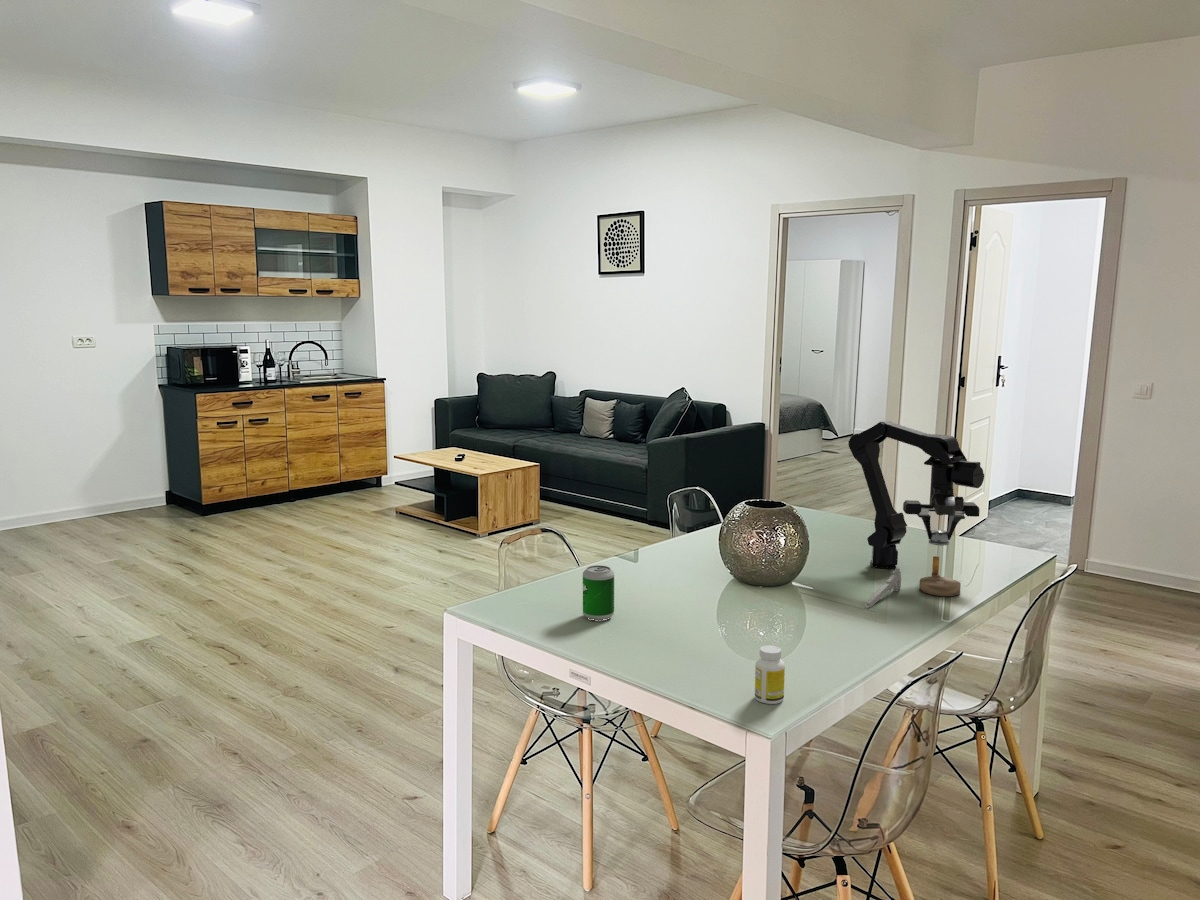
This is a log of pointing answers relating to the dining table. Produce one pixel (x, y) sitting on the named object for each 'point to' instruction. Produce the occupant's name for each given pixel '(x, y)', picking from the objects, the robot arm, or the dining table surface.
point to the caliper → (886, 588)
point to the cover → (939, 537)
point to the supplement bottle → (769, 676)
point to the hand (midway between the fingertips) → (939, 539)
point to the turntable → (939, 583)
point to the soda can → (598, 592)
